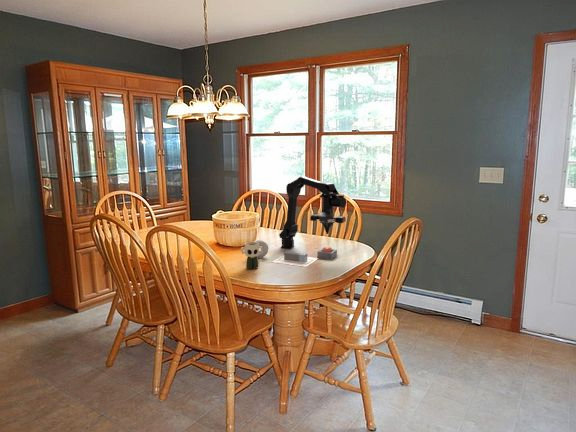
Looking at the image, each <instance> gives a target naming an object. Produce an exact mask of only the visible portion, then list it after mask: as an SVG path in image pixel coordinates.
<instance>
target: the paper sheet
mask: <svg viewBox="0 0 576 432" xmlns="http://www.w3.org/2000/svg"><path fill="white" fill-rule="evenodd" d="M318 259H320V258H317V257H313V256H311V257H310V256H307V261H306V262H298V261H291V260H284V254H283V255H282V256H280V257H278V258H276V259H275V260H272V263H276V264H283V265H291V266H297V267H302V268H303V267H304V268H307V267H309V265H311V264H313V263H314V262H316V261H317V260H318Z"/></svg>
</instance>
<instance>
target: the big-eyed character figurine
mask: <svg viewBox="0 0 576 432" xmlns="http://www.w3.org/2000/svg"><path fill="white" fill-rule="evenodd" d="M240 252H241V254H244V255H245V256H246V257H247V258H246V261H245V262H246V264H245V266H246V269H248V270H249V269H250V270H253V269H258V268H259V262H258V261H259V260H258V259H259V258H257V257H256V256H258V255H259V253H262V252H263V247H262V246H259V243H258V242H255V241H248V242H245V243H244V246H242V247H241V248H240Z"/></svg>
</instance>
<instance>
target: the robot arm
mask: <svg viewBox="0 0 576 432" xmlns="http://www.w3.org/2000/svg"><path fill="white" fill-rule="evenodd" d="M305 186H308V187H310V188H314V189H317V190H318V191H319V193H321V194H320V195H319V198H321V199H322V208H321V211H320V213H319V214H318V213H317V214H316V213H315V214H314V213H313V214H311V215H310V217H309V221H311V222H312V221H314V222H316V221H317V220H318V221H319V223H320V224H321V225H323V228H324V231H325V234H326V235H329V233H330V231H331V228H332V227H333V224H335V223H337V224H344V223H345V222H346V220H347V218H346V217H345V216H342V215H338V216H335V215H334V210H335V208H341V209H345V207H346V206H347V200H346V197H345V195H344V194H340V193H339V191H338V190H337V188H336V185H335V183H333V182H329V181H328V182H325V181H319V180H316V179H313V178H311V177H307V176H306V175H304V176H299V177H298V178H296V179H294V180H293V181H291V182H289V183H288V184H286V195H287V197H288V201H287V202H288V203H287V210H286V211H287V212H286V214H287V215H286V221H285V223H284V224H283V228H282V231H280V233H279V235H278V236H279V238H280V239H281V246H280V248H281V249H289V250H290V249H292V248H294V247H295V239H294V238H295V237H296V235H297V233H298V231H299V229H298V227H299V225H298V224H297V223H296V212H297V205H298V204H297V203H298V197H299V196H300V194H301V190H302V188H304V187H305ZM334 216H335V217H334Z"/></svg>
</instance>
